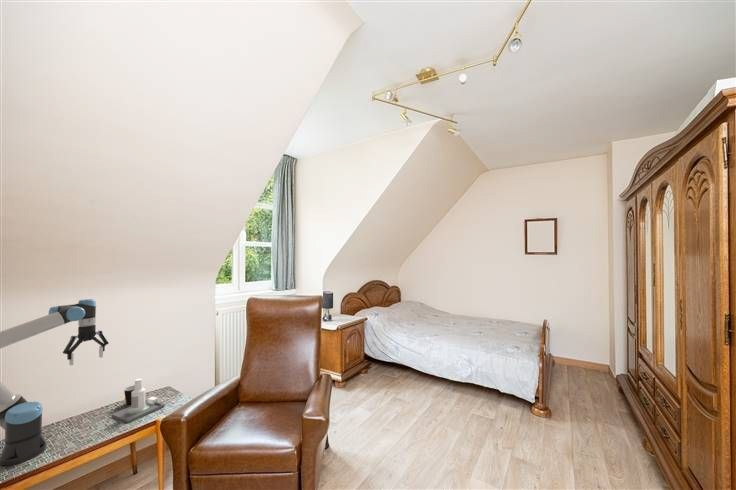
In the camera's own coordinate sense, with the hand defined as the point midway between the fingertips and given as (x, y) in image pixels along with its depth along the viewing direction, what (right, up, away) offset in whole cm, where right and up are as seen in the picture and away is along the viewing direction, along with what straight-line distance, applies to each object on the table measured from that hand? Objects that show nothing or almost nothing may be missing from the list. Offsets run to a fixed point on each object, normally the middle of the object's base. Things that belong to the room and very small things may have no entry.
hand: (86, 361), depth 174 cm
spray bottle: (+26, -33, +7) cm, 42 cm away
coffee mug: (+13, -35, +19) cm, 42 cm away
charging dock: (+26, -34, +7) cm, 43 cm away
